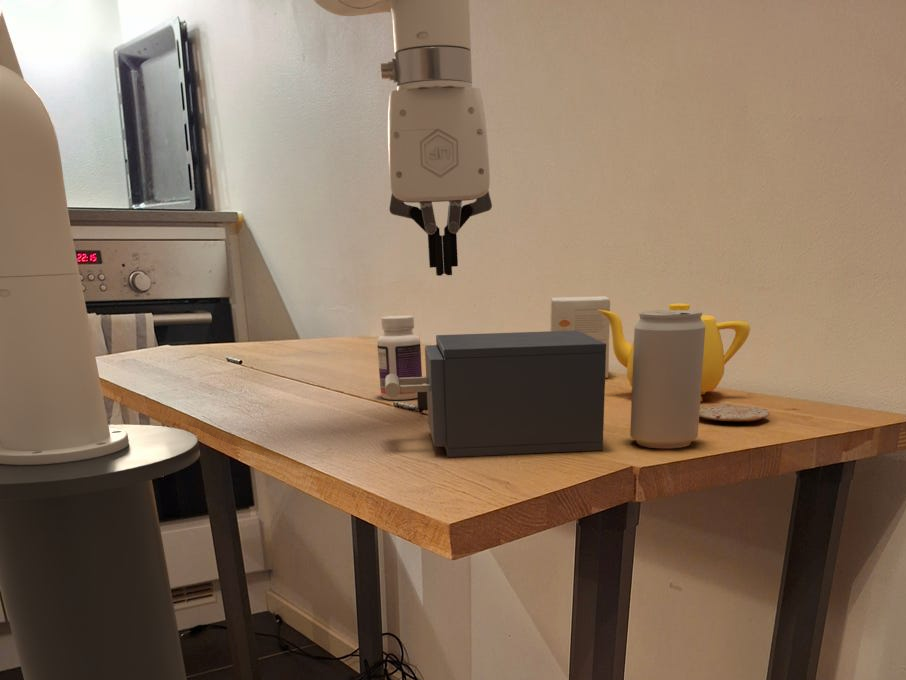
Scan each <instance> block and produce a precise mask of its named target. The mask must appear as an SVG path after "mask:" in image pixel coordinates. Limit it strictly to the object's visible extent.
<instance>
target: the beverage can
mask: <svg viewBox="0 0 906 680" xmlns="http://www.w3.org/2000/svg"><path fill="white" fill-rule="evenodd" d="M702 315H703V312H702V311H700V310H690V309H689V310H669V309H655V310H645V311H641V312H639V313H638V317H639V319H638V321H637V323H636V324H635V326H634V328H633V329H634V330H633V332H634V333H633V336H634V337H633V340H634V353H633V378H632V387H631V404H630V406H631V407H630V428H629V430H630V431H629V435H630V438H632V439H633V440H634V441H635V442H636V444H637V445H639V446H641V447H645V448H650V449H651V448H652V449H665V450H666V449H667V450H668V449H681V448H686V447H688V446H690V445H691V442H693V441H694V440H696V439H697V438H698V436H699V426H700V425H699V424H700V417H699V411H700V408H701V401H700V397H702V394H701V383H702V369H703V355H704V341H705V325H704V323H703V321H702V319H701V316H702Z"/></svg>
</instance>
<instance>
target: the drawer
mask: <svg viewBox="0 0 906 680" xmlns="http://www.w3.org/2000/svg"><path fill="white" fill-rule="evenodd" d="M424 357H425V358H424V360H425V376H422V377H407V378H398V376H397V375H395V374H388V375H387V376H386V378H385V392H386V394H387V395H388V396H389V397H391V398H395V397H397V396H398V395H399V394H400V392H401V393H406V392H427V405H428V409H427V422H428V428H429V431H430V436H431V439H432V443H433V447H436V448H437V447H438V448H439V447H441V448H442V447H445V446H447V431H446V404H445V378H444V359H443V357H442V355H441V353H440V351H439V349H438V347H437V345H436V344H433V345H432V344H431V345H424ZM406 384H422V385H406Z"/></svg>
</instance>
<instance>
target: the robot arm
mask: <svg viewBox="0 0 906 680" xmlns="http://www.w3.org/2000/svg"><path fill="white" fill-rule="evenodd" d="M314 2H315V3H316V4H317V5H318V6H319V7H320V8H322V9H323V10H325V11H327V12H329V13H331V14H333V15H337V16H341V17H357V16H364V15H365V16H366V15H372V14H383V13H390V14H391V21H392V35H393V37H392V38H393V50H394V51H393V52H394V58H392V59H391V61H387V62H383V63H382V62H381V63H380V72H381V73H380V74H381V80H389V81H393V84H396V89H395V90H391V91H389V96H388V97H389V99H388V108H387V109H388V110H387V150H388V151H387V154H388V156H387V158H388V176H389V177H388V178H389V185H390V186H389V187H390V192H391V196H390V202H389V209H388V210H389V212H390V214H391V215H393V216H397V217H400V218H406V219H410V220H412V221H414V223H416V224H417V225H418V226H419V228H421V229H422V230H423V231H424V232H425V234H427V242H428V243H427V247H428V263H429V268H430V269H431V268H432V269H433V268H435V275H436V276H437V277H441V276H443V275H446V276H453V267H459V259H458V258H459V257H458V236H457V235H458V234H457V233H458V232H459V231H460V230H461V228H463V226H464V225H465V224H466V223H467V221H468V220H469V219H470V218H471V217H473V216H478V215H479V214H483V213H486V212H489V211H491V210H492V207H493V203H492V199H491V195H490V191H489V190H490V183H491V182H490V180H491V179H490V177H491V175H490V157H489V145H488V142H489V141H488V132H487V123H486V122H487V121H486V113H485V108H484V102H483V97H482V93H481V89H480V88H478V87H473V71H472V44H471V18H470V17H471V15H470V0H314ZM55 128H56V127H55V125H54V122H53V119H52V117H51V114H50V111H49V110H48V108H47V107H46V104H45V102H44V101H43V99H42V98H41V96H40V95H39V93H37V91H36V90H35V89H34V88H33V87H32V85H30V83H28V82H27V81H26V79H25V77H24V75H23V72H22V68H21V66H20V63H19V60H18V57H17V53H16V50H15V47H14V45H13V42H12V38H11V35H10V32H9V29H8V26H7V23H6V20H5V16H4V14H3V9H2V0H0V464H3V465H18V466H29V465H49V464H60V463H69V462H76V461H82V460H88V459H93V458H98V457H102V456H106V455H110V454H113V453H116V452H119V451H121V450H123V449H125V448H126V447H127V446H128V445H129V440H128V435H127V433H126V432H124V431H123V430H119V429H114V428H109V426H108V425H109V421H108V416H107V410H106V405H105V399H104V394H103V389H102V384H101V378H100V373H99V369H98V363H97V359H96V352H95V347H94V342H93V335H92V330H91V325H90V321H89V316H88V309H87V305H86V299H85V294H84V289H83V284H82V278H81V274H80V269H79V264H78V259H77V252H76V248H75V244H74V237H73V231H72V226H71V220H70V213H69V207H68V201H67V193H66V188H65V187H66V186H65V179H64V171H63V163H62V157H61V151H60V146H59V140H58V136H57V132H56V129H55ZM463 201H464V202H465V201H473V202H469V203H467V204H464V205H462V204H463ZM436 202H437V203H440V202H448V204H447V205H448V206H447V215H446V216H447V217H446V225H445V226H444V228H443V232H444V233H443V234H442V235H441V231H440V227H438V225H437V221H436V217H435V212H434V211H435V210H434V206H433V203H436ZM406 203H409V204H406ZM410 203H411V204H413V203H417V204H419V207H418V206H415V205H414V206H413V205H410Z"/></svg>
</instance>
